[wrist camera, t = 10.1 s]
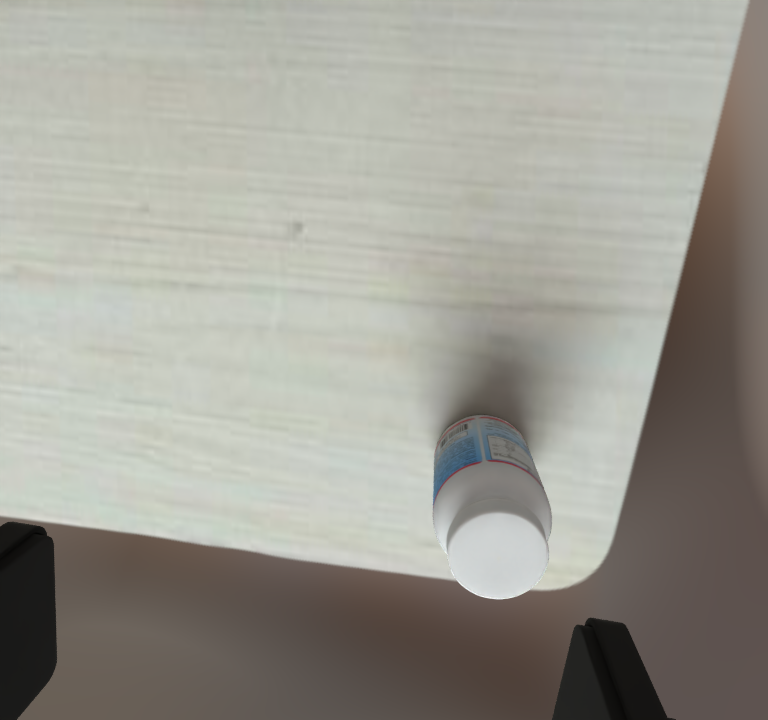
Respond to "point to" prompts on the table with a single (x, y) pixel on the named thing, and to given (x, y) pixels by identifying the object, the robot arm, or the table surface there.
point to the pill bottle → (490, 508)
